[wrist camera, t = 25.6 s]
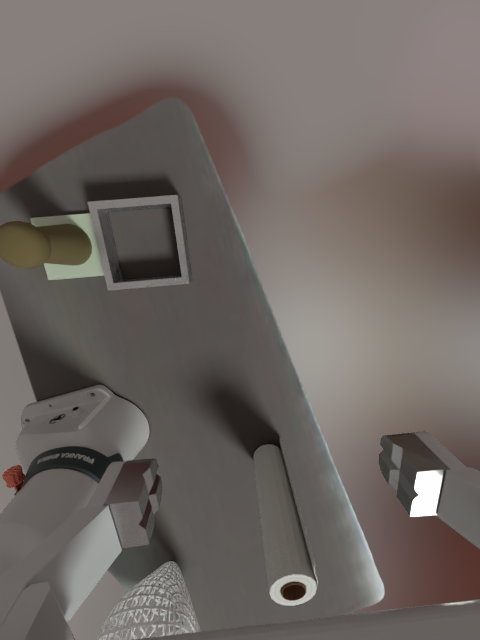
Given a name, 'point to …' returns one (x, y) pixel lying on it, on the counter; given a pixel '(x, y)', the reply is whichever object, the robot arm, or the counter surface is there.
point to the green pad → (68, 271)
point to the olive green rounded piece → (43, 244)
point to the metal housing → (109, 248)
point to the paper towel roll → (283, 530)
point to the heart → (153, 607)
